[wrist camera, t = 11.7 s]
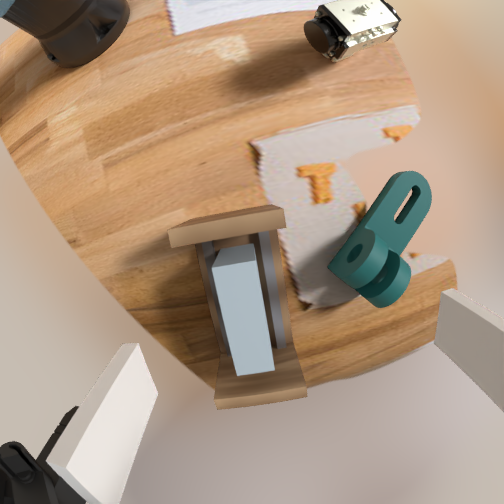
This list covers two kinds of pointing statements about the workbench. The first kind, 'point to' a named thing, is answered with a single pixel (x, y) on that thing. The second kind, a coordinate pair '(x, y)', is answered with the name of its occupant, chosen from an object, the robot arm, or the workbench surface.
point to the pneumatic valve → (350, 27)
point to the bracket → (384, 241)
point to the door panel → (243, 309)
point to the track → (274, 296)
